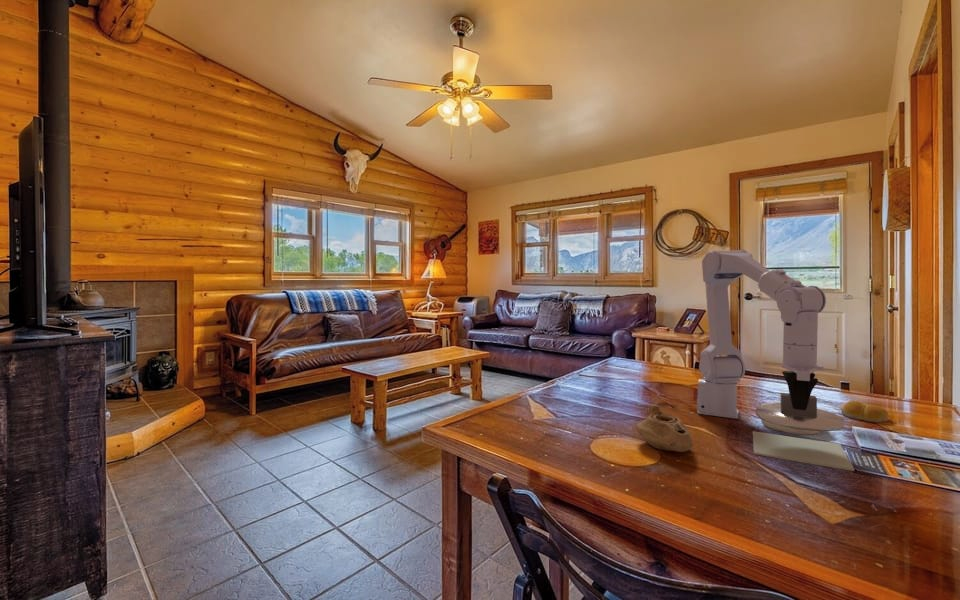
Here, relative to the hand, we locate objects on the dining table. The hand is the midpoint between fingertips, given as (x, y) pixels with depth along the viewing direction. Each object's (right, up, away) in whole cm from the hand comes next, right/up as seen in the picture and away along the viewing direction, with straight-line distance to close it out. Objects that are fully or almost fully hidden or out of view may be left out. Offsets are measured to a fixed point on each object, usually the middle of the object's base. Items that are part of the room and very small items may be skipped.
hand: (798, 407), depth 90 cm
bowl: (+9, -8, +15) cm, 19 cm away
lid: (0, -3, 0) cm, 3 cm away
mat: (0, -9, +1) cm, 9 cm away
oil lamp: (-27, -10, +3) cm, 28 cm away
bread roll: (+32, -8, +21) cm, 39 cm away
